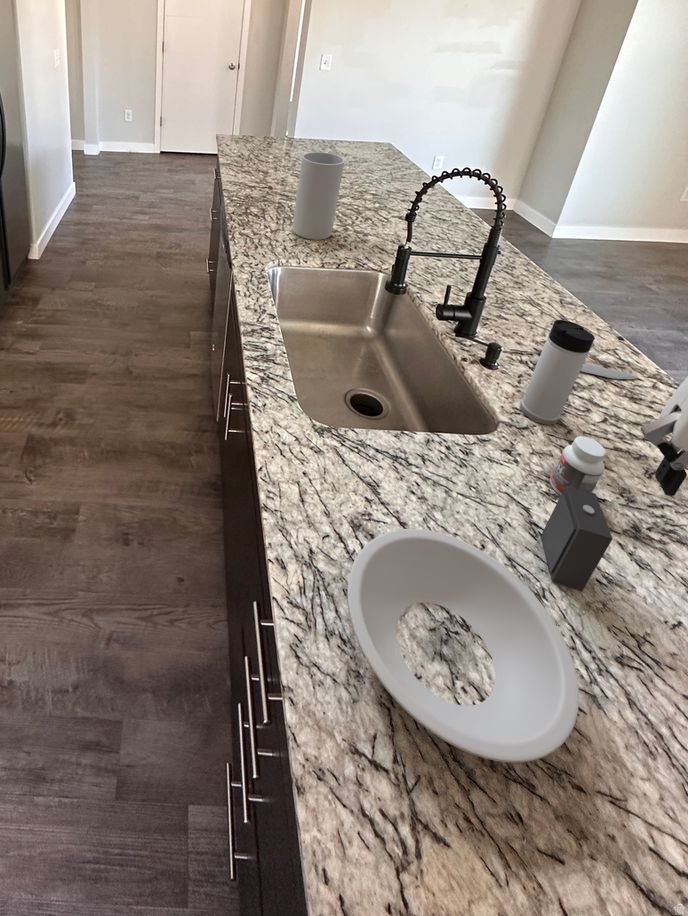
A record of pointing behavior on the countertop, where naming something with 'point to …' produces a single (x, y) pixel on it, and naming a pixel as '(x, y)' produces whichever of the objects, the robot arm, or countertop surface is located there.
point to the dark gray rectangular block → (575, 538)
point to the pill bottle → (579, 466)
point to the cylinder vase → (317, 195)
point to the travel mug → (556, 371)
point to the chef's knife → (604, 371)
